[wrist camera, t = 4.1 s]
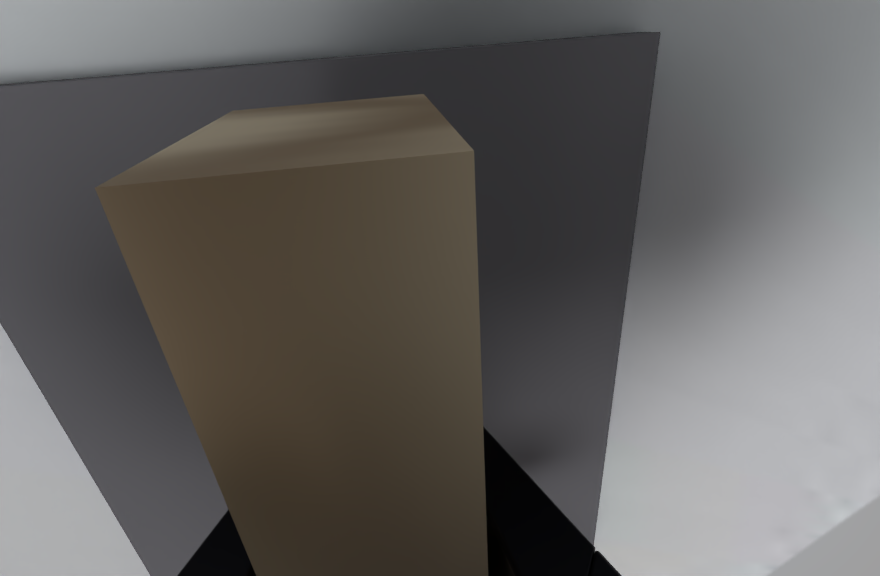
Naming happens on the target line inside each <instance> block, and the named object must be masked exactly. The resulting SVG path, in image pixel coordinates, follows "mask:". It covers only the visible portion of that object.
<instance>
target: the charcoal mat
mask: <svg viewBox="0 0 880 576" xmlns="http://www.w3.org/2000/svg"><path fill="white" fill-rule="evenodd" d="M659 39H660V32H637V33H624V34H612V35H600V36H588V37H576V38H564V39H552V40H539V41H527V42H515V43H503V44H491V45H479V46H467V47H454V48H442V49H430V50H418V51H406V52H394V53H382V54H369V55H357V56H345V57H333V58H321V59H309V60H297V61H285V62H272V63H260V64H248V65H236V66H224V67H212V68H200V69H187V70H175V71H163V72H151V73H139V74H127V75H115V76H102V77H90V78H78V79H66V80H54V81H42V82H30V83H17V84H5V85H0V323H1V325H2V326H3V328H4V330H5V331H6V333H7V335H8V336H9V338H10V340H11V341H12V343H13V345H14V346H15V348H16V350H17V352H18V353H19V355H20V357H21V358H22V360H23V362H24V363H25V365H26V367H27V368H28V370H29V372H30V373H31V375H32V377H33V378H34V380H35V382H36V384H37V385H38V387H39V389H40V390H41V392H42V394H43V395H44V397H45V399H46V400H47V402H48V404H49V405H50V407H51V409H52V410H53V412H54V414H55V416H56V417H57V419H58V421H59V422H60V424H61V426H62V427H63V429H64V431H65V432H66V434H67V436H68V437H69V439H70V441H71V442H72V444H73V446H74V448H75V449H76V451H77V453H78V454H79V456H80V458H81V459H82V461H83V463H84V464H85V466H86V468H87V469H88V471H89V473H90V474H91V476H92V478H93V480H94V481H95V483H96V485H97V486H98V488H99V490H100V491H101V493H102V495H103V496H104V498H105V500H106V501H107V503H108V505H109V506H110V508H111V510H112V511H113V513H114V515H115V517H116V518H117V520H118V522H119V523H120V525H121V527H122V528H123V530H124V532H125V533H126V535H127V537H128V538H129V540H130V542H131V543H132V545H133V547H134V549H135V550H136V552H137V554H138V555H139V557H140V559H141V560H142V562H143V564H144V565H145V567H146V569H147V570H148V572H149V574H150V575H151V576H177V575H178V574H179V572H180V571H181V570H182V569H183V567H184V566H185V565H186V563H187V562H188V561H189V560H190V558H191V557H192V556H193V554H194V553H195V552H196V551H197V549H198V548H199V547H200V545H201V544H202V543H203V541H204V540H205V539H206V538H207V536H208V535H209V534H210V532H211V531H212V530H213V529H214V527H215V526H216V525H217V523H218V522H219V521H220V520H221V518H222V517H223V516H224V514H225V513H226V512H227V511H228V507H227V504H226V502H225V499H224V497H223V495H222V492H221V490H220V487H219V485H218V483H217V480H216V478H215V475H214V473H213V471H212V468H211V466H210V463H209V461H208V459H207V456H206V454H205V451H204V449H203V447H202V444H201V442H200V439H199V437H198V435H197V432H196V430H195V427H194V425H193V423H192V420H191V418H190V415H189V413H188V411H187V408H186V406H185V403H184V401H183V399H182V396H181V394H180V391H179V389H178V387H177V384H176V382H175V379H174V377H173V375H172V372H171V370H170V367H169V365H168V363H167V360H166V358H165V355H164V353H163V351H162V348H161V346H160V343H159V341H158V339H157V336H156V334H155V331H154V329H153V327H152V324H151V322H150V319H149V317H148V315H147V312H146V310H145V307H144V305H143V303H142V300H141V298H140V295H139V293H138V291H137V288H136V286H135V283H134V281H133V279H132V276H131V274H130V271H129V269H128V267H127V264H126V262H125V259H124V257H123V255H122V252H121V250H120V247H119V245H118V243H117V240H116V238H115V235H114V233H113V231H112V228H111V226H110V223H109V221H108V219H107V216H106V214H105V211H104V209H103V206H102V204H101V202H100V199H99V197H98V194H97V192H96V190H95V187H97V186H99V185H101V184H103V183H104V182H106V181H108V180H110V179H111V178H113V177H115V176H117V175H119V174H120V173H122V172H124V171H126V170H128V169H129V168H131V167H133V166H135V165H137V164H138V163H140V162H142V161H144V160H145V159H147V158H149V157H151V156H153V155H154V154H156V153H158V152H160V151H162V150H163V149H165V148H167V147H169V146H170V145H172V144H174V143H176V142H178V141H179V140H181V139H183V138H185V137H187V136H188V135H190V134H192V133H194V132H195V131H197V130H199V129H201V128H203V127H204V126H206V125H208V124H210V123H212V122H213V121H215V120H217V119H219V118H220V117H222V116H224V115H226V114H228V113H229V112H231V111H235V110H246V109H257V108H269V107H280V106H292V105H303V104H315V103H326V102H337V101H349V100H360V99H372V98H383V97H394V96H406V95H417V94H424V95H425V96H426V97H427V98H428V99H429V100H430V102H431V103H432V104H433V105H434V106H435V107H436V108H437V109H438V111H439V112H440V113H441V114H442V115H443V116H444V117H445V119H446V120H447V121H448V122H449V123H450V124H451V125H452V126H453V128H454V129H455V130H456V131H457V132H458V133H459V134H460V135H461V137H462V138H463V139H464V140H465V141H466V142H467V143H468V144H469V146H470V147H471V148H472V149H473V150H474V164H475V194H476V224H477V254H478V283H479V313H480V343H481V373H482V403H483V426H484V427H485V428H486V430H487V431H488V432H489V433H490V434H491V435H492V436H493V437H494V438H495V439H496V440H497V441H498V443H499V444H500V445H501V446H502V447H503V448H504V449H505V450H506V451H507V452H508V453H509V455H510V456H511V457H512V458H513V459H514V460H515V461H516V462H517V463H518V464H519V465H520V466H521V468H522V469H523V470H524V471H525V472H526V473H527V474H528V475H529V476H530V477H531V478H532V479H533V481H534V482H535V483H536V484H537V485H538V486H539V487H540V488H541V489H542V490H543V491H544V493H545V494H546V495H547V496H548V497H549V498H550V499H551V500H552V501H553V502H554V503H555V504H556V506H557V507H558V508H559V509H560V510H561V511H562V512H563V513H564V514H565V515H566V516H567V517H568V519H569V520H570V521H571V522H572V523H573V524H574V525H575V526H576V527H577V528H578V529H579V531H580V532H581V533H582V534H583V535H584V536H585V537H586V538H587V539H588V540H589V541H590V542H591V544H592V545H594V538H595V530H596V522H597V515H598V507H599V499H600V492H601V484H602V476H603V469H604V461H605V453H606V446H607V438H608V430H609V422H610V415H611V407H612V399H613V392H614V384H615V376H616V369H617V361H618V353H619V346H620V338H621V330H622V323H623V315H624V307H625V300H626V292H627V284H628V277H629V269H630V261H631V254H632V246H633V238H634V231H635V223H636V215H637V208H638V200H639V192H640V184H641V177H642V169H643V161H644V154H645V146H646V138H647V131H648V123H649V115H650V108H651V100H652V92H653V85H654V77H655V69H656V62H657V54H658V46H659Z"/></svg>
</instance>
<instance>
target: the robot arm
mask: <svg viewBox="0 0 880 576" xmlns="http://www.w3.org/2000/svg"><path fill="white" fill-rule="evenodd" d="M483 432H484V462H485V492H486V522H487V552H488V576H621V575H620V574H619V573H618V571H617V570H616V569H615V568H614V567H613V566H612V565H611V564H610V563H609V562H608V561H607V560H606V558H605V557H604V556H603V555H602V554H601V553H600V552H599V551H595V547H594V546H593V545H592V544H591V542H590V541H589V540H588V539H587V538H586V537H585V536H584V535H583V534H582V533H581V532H580V531H579V529H578V528H577V527H576V526H575V525H574V524H573V523H572V522H571V521H570V520H569V519H568V517H567V516H566V515H565V514H564V513H563V512H562V511H561V510H560V509H559V508H558V507H557V506H556V504H555V503H554V502H553V501H552V500H551V499H550V498H549V497H548V496H547V495H546V494H545V493H544V491H543V490H542V489H541V488H540V487H539V486H538V485H537V484H536V483H535V482H534V481H533V479H532V478H531V477H530V476H529V475H528V474H527V473H526V472H525V471H524V470H523V469H522V468H521V466H520V465H519V464H518V463H517V462H516V461H515V460H514V459H513V458H512V457H511V456H510V455H509V453H508V452H507V451H506V450H505V449H504V448H503V447H502V446H501V445H500V444H499V443H498V441H497V440H496V439H495V438H494V437H493V436H492V435H491V434H490V433H489V432H488V431H487V430H486V428H485V427H484V426H483ZM177 576H256V574H255V571H254V569H253V567H252V564H251V562H250V559H249V557H248V555H247V552H246V550H245V547H244V545H243V543H242V540H241V538H240V535H239V533H238V531H237V528H236V526H235V523H234V521H233V519H232V516H231V514H230V511H229V509H228V511H227V512H226V513H225V514H224V516H223V517H222V518H221V520H220V521H219V522H218V523H217V525H216V526H215V527H214V529H213V530H212V531H211V532H210V534H209V535H208V536H207V538H206V539H205V540H204V541H203V543H202V544H201V545H200V547H199V548H198V549H197V551H196V552H195V553H194V554H193V556H192V557H191V558H190V560H189V561H188V562H187V563H186V565H185V566H184V567H183V569H182V570H181V571H180V572H179V574H178V575H177Z"/></svg>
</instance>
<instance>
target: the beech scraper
mask: <svg viewBox="0 0 880 576" xmlns="http://www.w3.org/2000/svg"><path fill="white" fill-rule="evenodd" d="M95 190H96V192H97V194H98V197H99V199H100V202H101V204H102V206H103V209H104V211H105V214H106V216H107V219H108V221H109V223H110V226H111V228H112V231H113V233H114V235H115V238H116V240H117V243H118V245H119V247H120V250H121V252H122V255H123V257H124V259H125V262H126V264H127V267H128V269H129V271H130V274H131V276H132V279H133V281H134V283H135V286H136V288H137V291H138V293H139V295H140V298H141V300H142V303H143V305H144V307H145V310H146V312H147V315H148V317H149V319H150V322H151V324H152V327H153V329H154V331H155V334H156V336H157V339H158V341H159V343H160V346H161V348H162V351H163V353H164V355H165V358H166V360H167V363H168V365H169V367H170V370H171V372H172V375H173V377H174V379H175V382H176V384H177V387H178V389H179V391H180V394H181V396H182V399H183V401H184V403H185V406H186V408H187V411H188V413H189V415H190V418H191V420H192V423H193V425H194V427H195V430H196V432H197V435H198V437H199V439H200V442H201V444H202V447H203V449H204V451H205V454H206V456H207V459H208V461H209V463H210V466H211V468H212V471H213V473H214V475H215V478H216V480H217V483H218V485H219V487H220V490H221V492H222V495H223V497H224V499H225V502H226V504H227V507H228V509H229V511H230V514H231V516H232V519H233V521H234V523H235V526H236V528H237V531H238V533H239V535H240V538H241V540H242V543H243V545H244V547H245V550H246V552H247V555H248V557H249V559H250V562H251V564H252V567H253V569H254V571H255V574H256V576H488V552H487V522H486V492H485V462H484V432H483V403H482V373H481V343H480V313H479V283H478V254H477V224H476V194H475V164H474V150H473V149H472V148H471V147H470V146H469V144H468V143H467V142H466V141H465V140H464V139H463V138H462V137H461V135H460V134H459V133H458V132H457V131H456V130H455V129H454V128H453V126H452V125H451V124H450V123H449V122H448V121H447V120H446V119H445V117H444V116H443V115H442V114H441V113H440V112H439V111H438V109H437V108H436V107H435V106H434V105H433V104H432V103H431V102H430V100H429V99H428V98H427V97H426V96H425V95H424V94H417V95H406V96H394V97H383V98H372V99H360V100H349V101H337V102H326V103H315V104H303V105H292V106H280V107H269V108H257V109H246V110H235V111H231V112H229V113H228V114H226V115H224V116H222V117H220V118H219V119H217V120H215V121H213V122H212V123H210V124H208V125H206V126H204V127H203V128H201V129H199V130H197V131H195V132H194V133H192V134H190V135H188V136H187V137H185V138H183V139H181V140H179V141H178V142H176V143H174V144H172V145H170V146H169V147H167V148H165V149H163V150H162V151H160V152H158V153H156V154H154V155H153V156H151V157H149V158H147V159H145V160H144V161H142V162H140V163H138V164H137V165H135V166H133V167H131V168H129V169H128V170H126V171H124V172H122V173H120V174H119V175H117V176H115V177H113V178H111V179H110V180H108V181H106V182H104V183H103V184H101V185H99V186H97V187H95Z"/></svg>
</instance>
